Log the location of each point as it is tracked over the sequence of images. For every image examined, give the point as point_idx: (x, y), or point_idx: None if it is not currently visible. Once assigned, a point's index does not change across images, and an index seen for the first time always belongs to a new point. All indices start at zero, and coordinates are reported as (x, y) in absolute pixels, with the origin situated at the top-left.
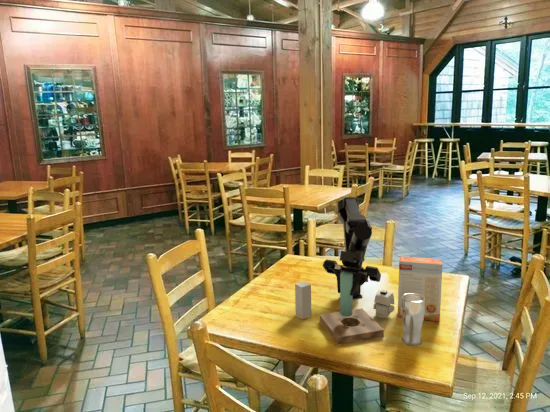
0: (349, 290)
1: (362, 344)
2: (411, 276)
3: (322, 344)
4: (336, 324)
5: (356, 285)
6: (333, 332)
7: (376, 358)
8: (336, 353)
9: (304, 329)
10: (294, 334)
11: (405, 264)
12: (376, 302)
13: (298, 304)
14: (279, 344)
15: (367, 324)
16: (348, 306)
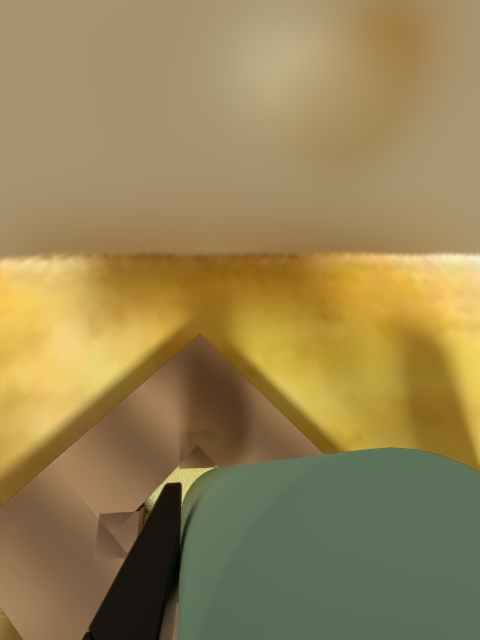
0: (201, 501)
1: (93, 399)
2: None
3: (251, 325)
4: (255, 452)
5: (86, 638)
6: (234, 368)
7: (11, 321)
8: (178, 292)
9: (373, 399)
10: (378, 345)
11: None
12: None
13: None
14: (373, 269)
15: (82, 561)
16: (199, 481)
